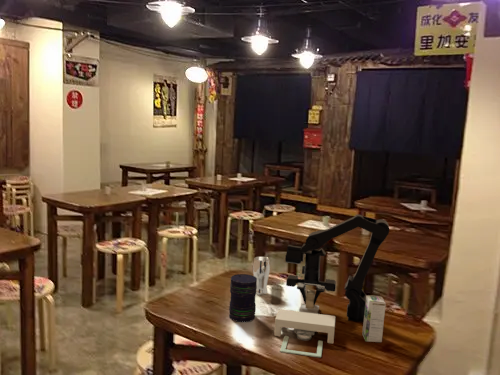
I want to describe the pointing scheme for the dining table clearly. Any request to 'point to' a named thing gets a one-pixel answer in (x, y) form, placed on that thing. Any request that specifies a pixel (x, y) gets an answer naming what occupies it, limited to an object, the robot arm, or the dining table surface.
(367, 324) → the syrup box
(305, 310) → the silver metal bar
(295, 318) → the cream bridge block
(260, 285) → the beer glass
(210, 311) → the dining table surface
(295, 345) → the dining table surface
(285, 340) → the frame
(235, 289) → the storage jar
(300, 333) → the disc
